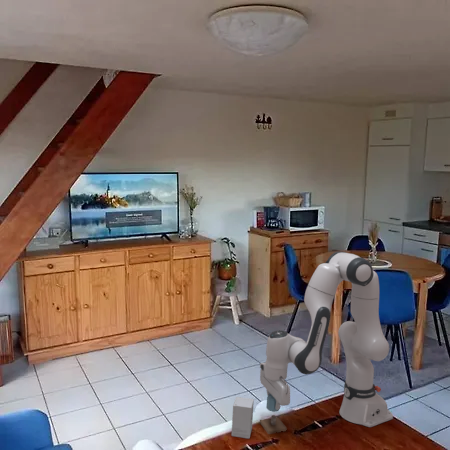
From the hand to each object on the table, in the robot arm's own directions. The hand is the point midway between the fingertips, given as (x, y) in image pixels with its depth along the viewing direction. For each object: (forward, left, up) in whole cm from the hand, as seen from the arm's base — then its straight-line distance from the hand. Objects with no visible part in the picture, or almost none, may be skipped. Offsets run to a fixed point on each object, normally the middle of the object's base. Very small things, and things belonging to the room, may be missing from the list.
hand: (273, 404), depth 180 cm
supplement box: (+13, 0, -10) cm, 16 cm away
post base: (0, 0, -10) cm, 10 cm away
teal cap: (0, 0, -2) cm, 2 cm away
